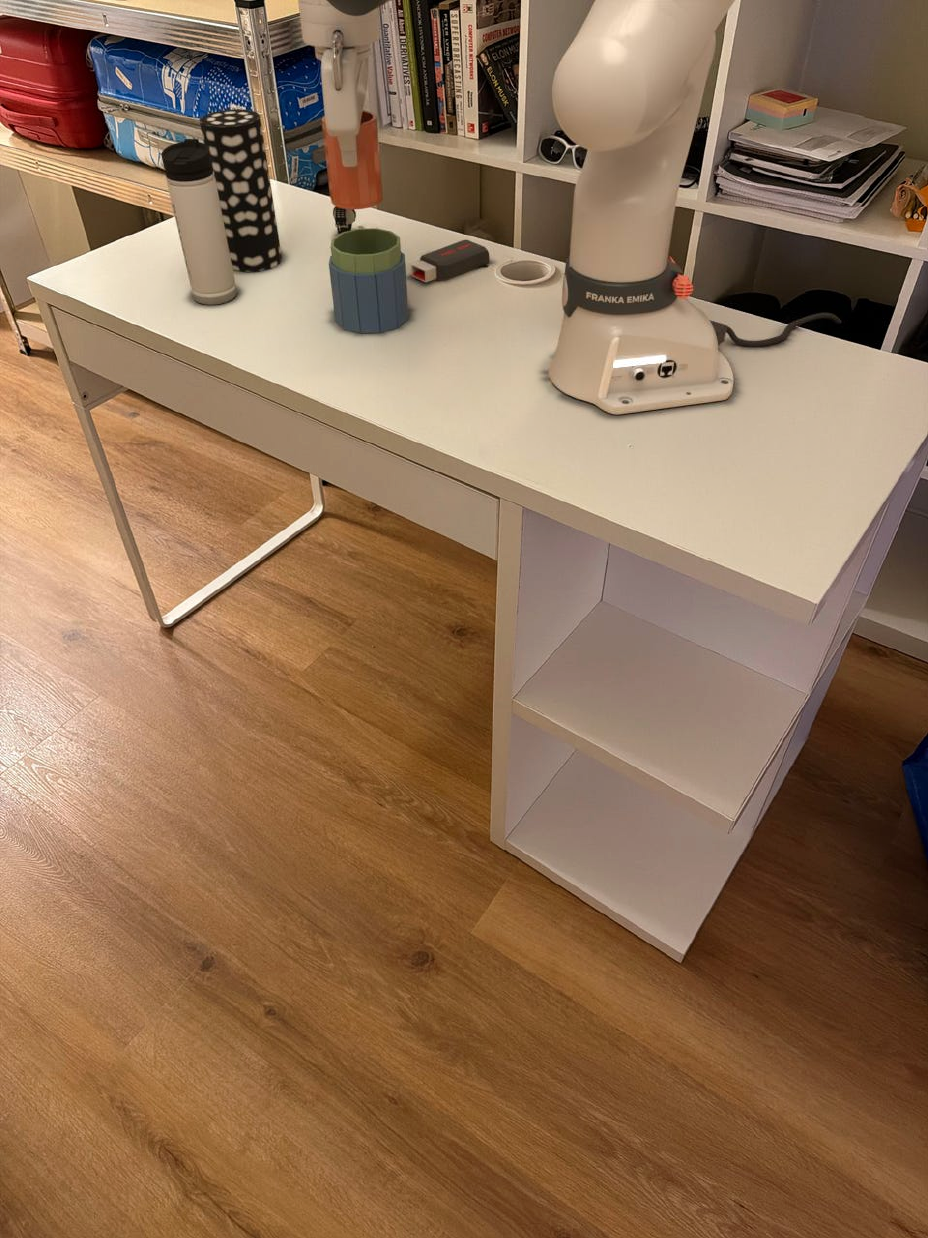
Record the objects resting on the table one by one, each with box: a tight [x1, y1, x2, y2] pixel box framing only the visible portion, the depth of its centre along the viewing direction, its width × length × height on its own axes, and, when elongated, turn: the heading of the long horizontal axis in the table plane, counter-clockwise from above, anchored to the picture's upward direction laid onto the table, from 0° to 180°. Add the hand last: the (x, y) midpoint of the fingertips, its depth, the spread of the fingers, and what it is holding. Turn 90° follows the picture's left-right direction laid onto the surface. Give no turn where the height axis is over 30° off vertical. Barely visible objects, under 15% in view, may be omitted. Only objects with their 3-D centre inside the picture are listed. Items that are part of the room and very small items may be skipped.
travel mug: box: [160, 138, 238, 306], centre depth 124 cm, size 6×7×20 cm
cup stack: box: [328, 227, 409, 334], centre depth 122 cm, size 10×10×10 cm
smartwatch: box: [332, 206, 357, 235], centre depth 145 cm, size 4×5×5 cm
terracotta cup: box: [321, 110, 383, 210], centre depth 112 cm, size 6×6×10 cm
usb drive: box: [410, 239, 491, 283], centre depth 136 cm, size 5×12×3 cm, turn 133°
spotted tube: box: [199, 108, 283, 273], centre depth 133 cm, size 8×8×20 cm
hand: (352, 154), depth 111 cm, fingers closed on terracotta cup, 6 cm apart
